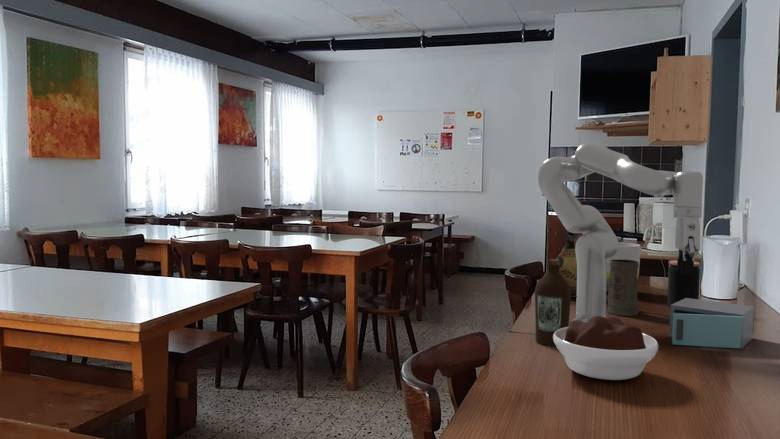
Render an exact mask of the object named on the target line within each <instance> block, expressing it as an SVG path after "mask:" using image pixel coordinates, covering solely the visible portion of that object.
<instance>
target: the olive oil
mask: <svg viewBox="0 0 780 439" xmlns="http://www.w3.org/2000/svg"><path fill="white" fill-rule="evenodd" d="M547 262H548V263H547V272H546V273H545V274H544V275H543V276H542V277H541V278H540V279H539V280H538V281H537V282H536V285H535V288H534V307H535V308H534V310H535V311H534V315H535V317H534V318H535V341H537V343H538V344H540V343H541V344H540V345H544V344H546V345H545V346H550V345H555V343H554V341H553V334H554V332H555V331H557V330H558V329H561V328H564V327H569V324H570V315H571V302H572V301H571V300H572V298H571V289H570V286H569V284H568V282H567V281H566V280H565V279H564V278H563V277H562V275H561V274H560V273H559V260H556V258H555V259H554V258H553V259H552V258H551V259H550V258H549V259H547Z"/></svg>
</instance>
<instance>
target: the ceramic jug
mask: <svg viewBox="0 0 780 439" xmlns="http://www.w3.org/2000/svg"><path fill="white" fill-rule="evenodd" d="M565 235H566V237H565V238H566V240H565V246H564V249H562V251H561V252H560V253H559V254H558V256H557V257H556V258H555V259H556V260H559V273H560V274H561V275H562V277H563V278H564V279H565V280H566V281H567V282H568V284H569V286H570V289H571V297H576V296H577V259H576V252H575V246H576V243H575V239H577V238H578V236H579V233H571V232H569V231H567V230H566V232H565ZM576 298H577V297H576Z"/></svg>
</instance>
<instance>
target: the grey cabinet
mask: <svg viewBox="0 0 780 439" xmlns="http://www.w3.org/2000/svg"><path fill="white" fill-rule="evenodd" d="M669 309H670V310H669V333H668V334H669V335H668V336H669V337H670V338H671V337H673V313H682V314H702V315H722V316H743V317H745V328H744V346H746V345H747V344H748V343H749V342H751V341H753V339H754V328H755V306H754V305H753V306H752V305H744V304H737V303H729V302H721V301H716V300H715V301H713V300H704V299H691V298H685V299H682V300H680V301H678V302H676V303H674V304H672V305H670V307H669Z"/></svg>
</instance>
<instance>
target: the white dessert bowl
mask: <svg viewBox="0 0 780 439" xmlns="http://www.w3.org/2000/svg"><path fill="white" fill-rule="evenodd" d="M553 341H554V343H555V345H556V346H555V347H556V349H557V350H558V351H559V353H560V354H561V355H562V356H563V358H564V361H565V363H566V365H567V367H568V368H569V369H571V371H574V372H575V373H577V374H579V375H582V376H586V377H588V378H594V379H599V380H608V381H622V380H630V379H633V378H636V377H638V376H639V375H641V373H642V372H643V370H644V369H645V366H646V364H648V363H649V362H650V361H652V359H653V358H654V357H655V356H656V354H657V353H658V351H659V342H658V341H657V340H656V339H655V338H654V337H653V336H650V335H648V334H646V333H643V331H642V330H641V328H639V327H637V326H635V325H629V324H628V325H625V324H624V323H623V321H622V320H621V319H620V317H619V316H616V315H614V316H608V317H606V318H605V317H602V316H594V317H592V318H591V319H590V320H589V321H588V322H582V321H579V320H574V321H571V320H569V327H564V328H561V329H558V330H557V331H555V332H554V334H553Z"/></svg>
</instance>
